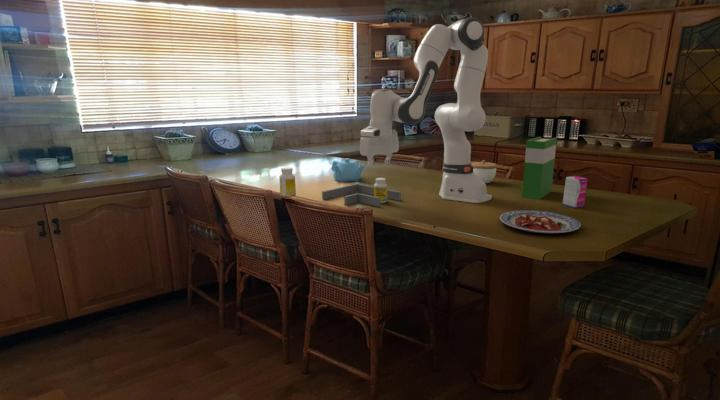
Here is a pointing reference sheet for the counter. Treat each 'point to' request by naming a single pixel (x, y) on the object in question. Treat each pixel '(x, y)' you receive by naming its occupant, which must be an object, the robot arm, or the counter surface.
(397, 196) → the guide walls
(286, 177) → the supplement bottle
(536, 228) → the ceramic plate
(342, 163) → the teapot
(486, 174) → the lidded bowl
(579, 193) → the supplement box
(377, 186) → the supplement bottle
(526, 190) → the green white carton
